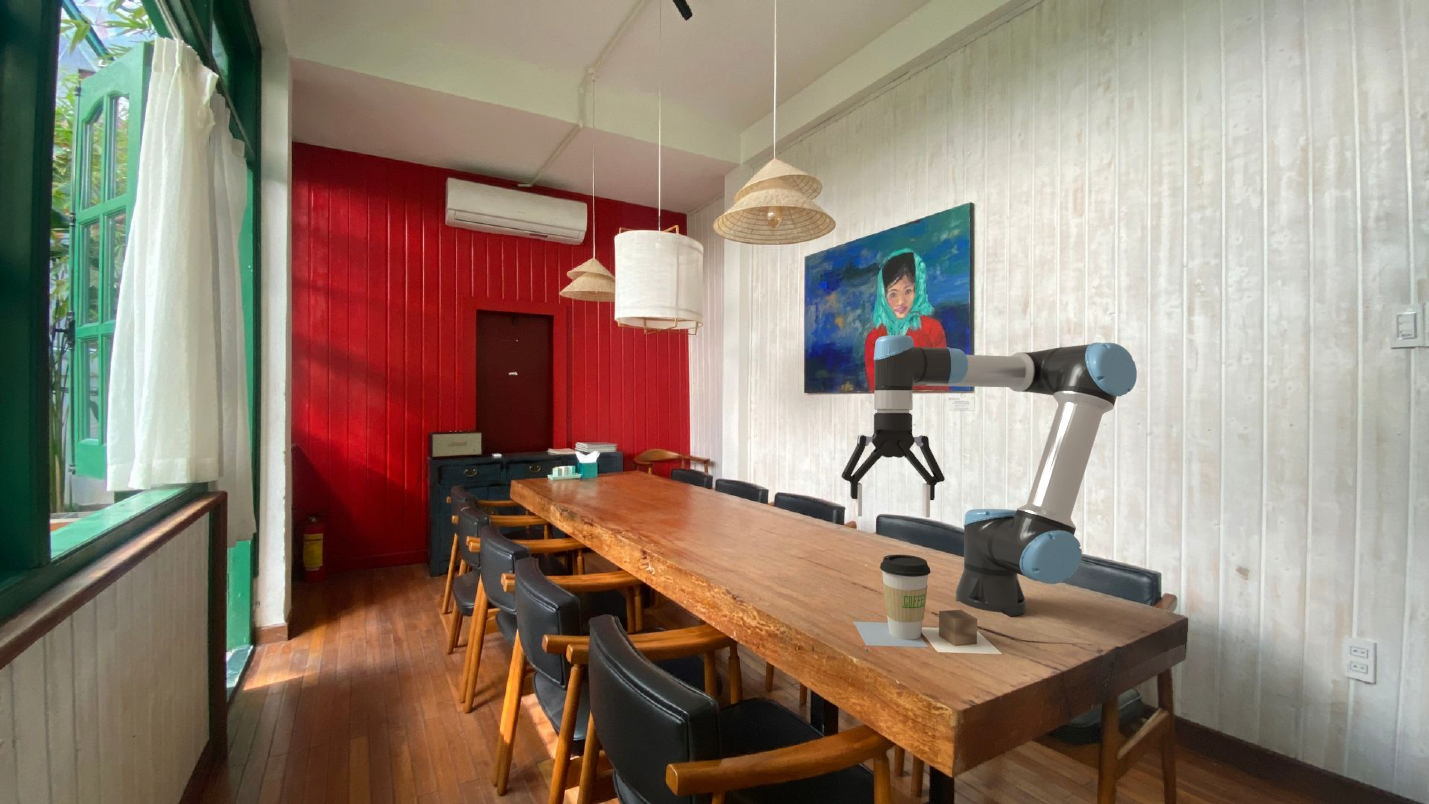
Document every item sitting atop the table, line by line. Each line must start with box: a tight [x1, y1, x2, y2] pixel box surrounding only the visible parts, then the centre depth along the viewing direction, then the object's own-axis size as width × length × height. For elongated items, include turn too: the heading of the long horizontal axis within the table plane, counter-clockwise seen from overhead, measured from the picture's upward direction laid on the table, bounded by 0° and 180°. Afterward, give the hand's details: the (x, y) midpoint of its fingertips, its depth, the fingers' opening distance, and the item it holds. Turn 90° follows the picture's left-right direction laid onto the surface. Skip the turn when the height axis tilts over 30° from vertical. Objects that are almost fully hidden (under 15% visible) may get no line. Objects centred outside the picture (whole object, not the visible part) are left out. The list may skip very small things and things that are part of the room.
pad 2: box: [921, 626, 1003, 655], centre depth 113 cm, size 12×12×1 cm
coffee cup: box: [879, 554, 932, 640], centre depth 116 cm, size 10×10×15 cm
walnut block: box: [938, 609, 978, 646], centre depth 113 cm, size 5×5×5 cm
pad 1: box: [853, 621, 930, 651], centre depth 116 cm, size 12×12×1 cm
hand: (892, 515), depth 116 cm, fingers open, 13 cm apart
